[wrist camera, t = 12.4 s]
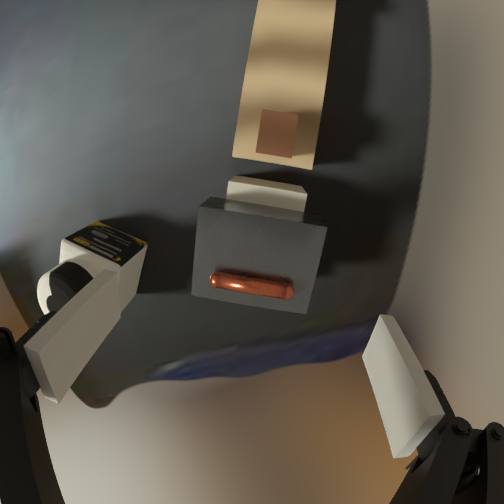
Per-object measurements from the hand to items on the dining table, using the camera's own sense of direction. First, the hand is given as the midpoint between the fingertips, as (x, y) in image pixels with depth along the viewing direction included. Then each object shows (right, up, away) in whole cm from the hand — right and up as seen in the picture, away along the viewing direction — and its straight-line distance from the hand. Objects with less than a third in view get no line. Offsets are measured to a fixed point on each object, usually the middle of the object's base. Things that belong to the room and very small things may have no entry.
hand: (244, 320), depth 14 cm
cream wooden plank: (+4, +21, +10) cm, 24 cm away
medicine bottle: (-15, +3, +19) cm, 24 cm away
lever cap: (+1, +4, +11) cm, 12 cm away
